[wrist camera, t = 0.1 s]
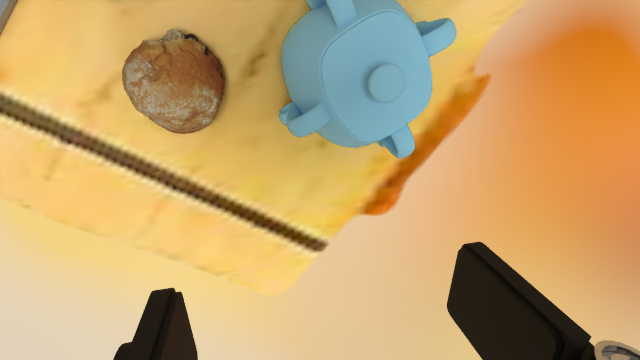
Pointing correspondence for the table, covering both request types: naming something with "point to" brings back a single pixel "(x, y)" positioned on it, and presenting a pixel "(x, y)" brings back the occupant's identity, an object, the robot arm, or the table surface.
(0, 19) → the slate tile
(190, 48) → the bread roll
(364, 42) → the decorative pot
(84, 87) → the table surface
